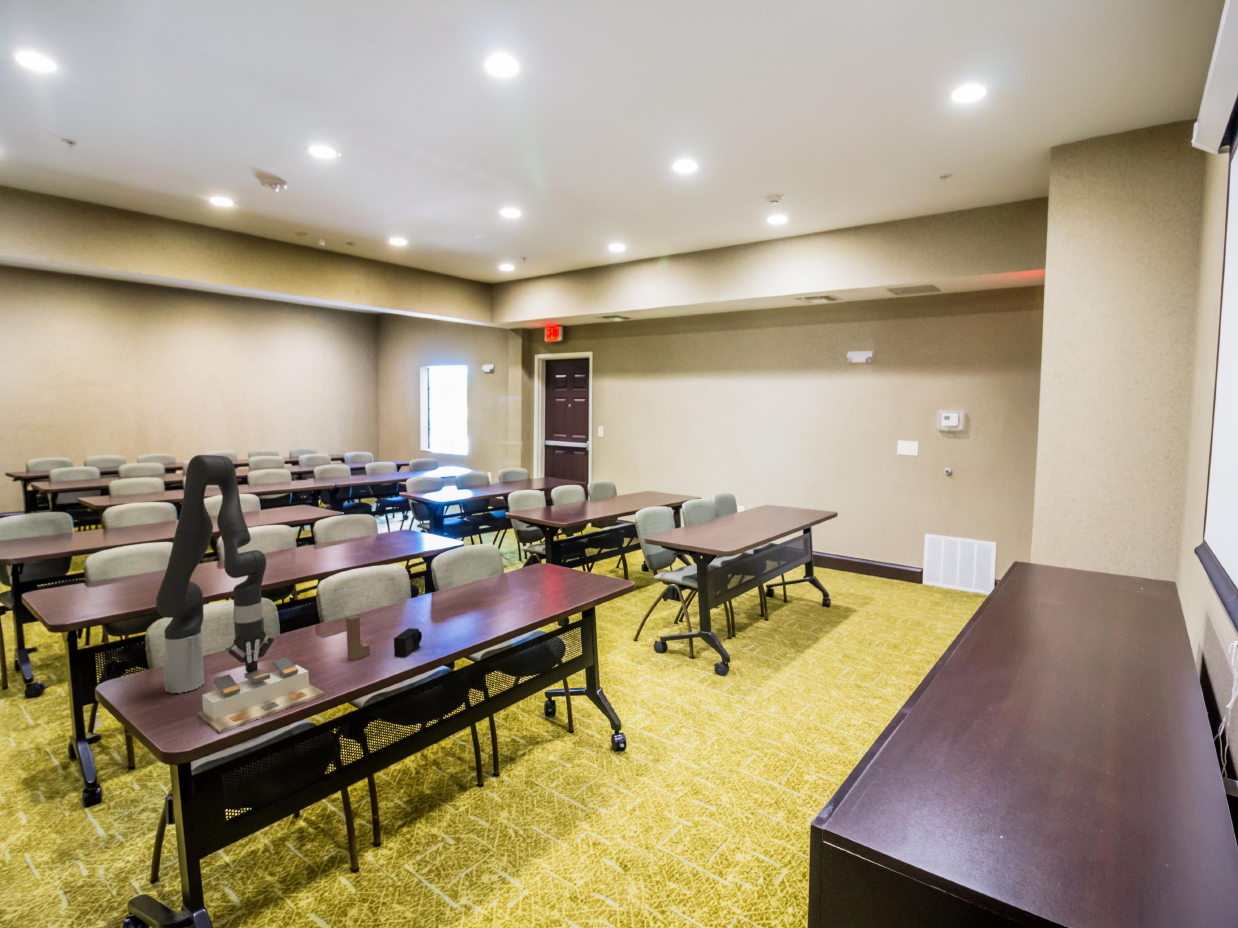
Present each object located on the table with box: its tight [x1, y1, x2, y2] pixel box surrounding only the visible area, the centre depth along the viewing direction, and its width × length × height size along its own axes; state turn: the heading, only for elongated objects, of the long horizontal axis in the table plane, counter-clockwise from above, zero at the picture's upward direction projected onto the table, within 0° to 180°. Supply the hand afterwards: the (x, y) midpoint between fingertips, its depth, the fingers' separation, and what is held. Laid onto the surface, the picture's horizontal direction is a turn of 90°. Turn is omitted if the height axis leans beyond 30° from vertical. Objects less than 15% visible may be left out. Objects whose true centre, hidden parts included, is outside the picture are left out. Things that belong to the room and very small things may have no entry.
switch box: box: [201, 664, 310, 720], centre depth 179 cm, size 26×8×6 cm, turn 142°
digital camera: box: [393, 627, 423, 659], centre depth 217 cm, size 10×5×7 cm, turn 171°
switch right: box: [272, 656, 298, 677], centre depth 185 cm, size 4×8×1 cm, turn 52°
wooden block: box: [345, 614, 371, 662], centre depth 212 cm, size 7×3×15 cm, turn 145°
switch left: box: [213, 673, 240, 697], centre depth 172 cm, size 4×8×1 cm, turn 52°
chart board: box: [198, 683, 325, 734], centre depth 177 cm, size 28×16×1 cm, turn 142°
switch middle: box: [243, 668, 270, 683], centre depth 179 cm, size 4×8×1 cm, turn 52°
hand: (251, 672), depth 181 cm, fingers closed
